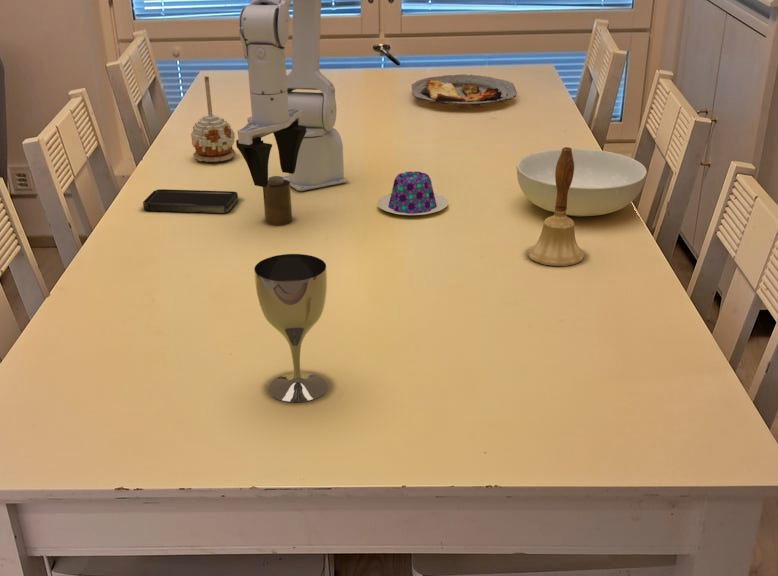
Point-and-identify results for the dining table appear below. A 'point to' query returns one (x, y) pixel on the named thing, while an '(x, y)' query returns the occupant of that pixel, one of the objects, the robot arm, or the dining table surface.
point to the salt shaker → (277, 201)
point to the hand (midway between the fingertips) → (274, 179)
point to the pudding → (412, 196)
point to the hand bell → (559, 223)
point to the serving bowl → (583, 181)
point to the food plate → (463, 90)
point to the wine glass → (293, 315)
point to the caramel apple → (212, 135)
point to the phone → (191, 201)
